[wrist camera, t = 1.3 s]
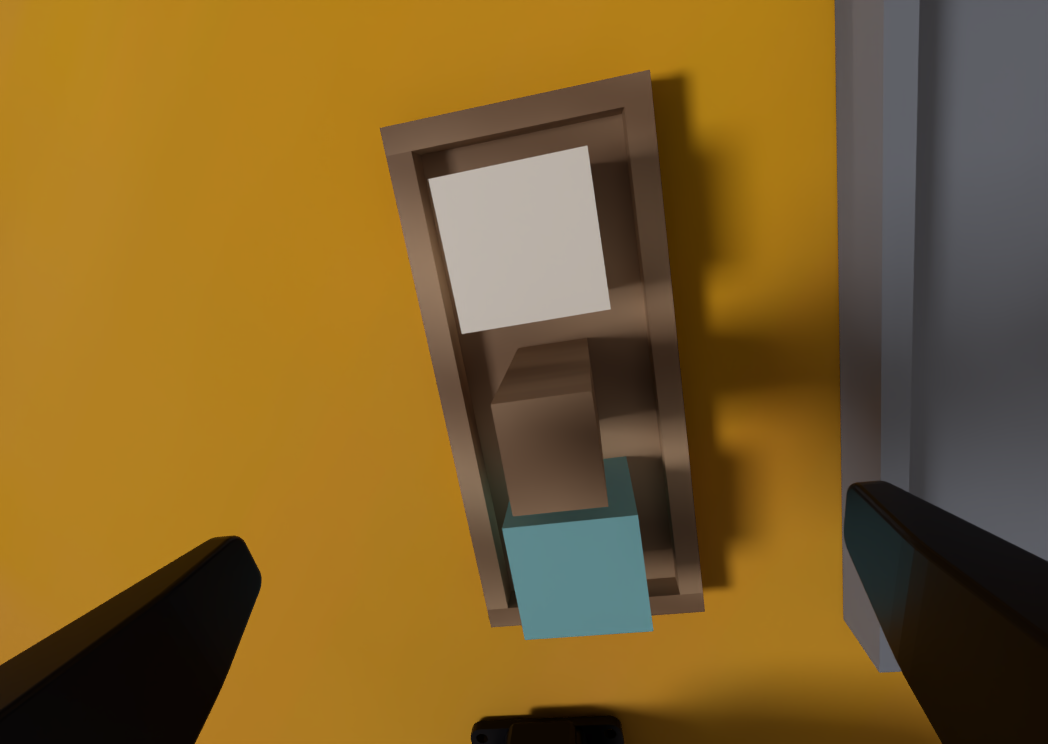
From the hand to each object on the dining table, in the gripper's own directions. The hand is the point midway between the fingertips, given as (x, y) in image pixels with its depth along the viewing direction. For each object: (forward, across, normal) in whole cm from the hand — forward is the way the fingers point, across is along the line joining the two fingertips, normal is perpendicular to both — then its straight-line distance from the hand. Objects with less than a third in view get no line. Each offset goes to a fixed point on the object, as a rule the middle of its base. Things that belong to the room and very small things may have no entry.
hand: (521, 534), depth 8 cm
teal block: (+10, 0, +8) cm, 12 cm away
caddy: (+12, 0, +3) cm, 12 cm away
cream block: (+11, 0, -2) cm, 12 cm away
